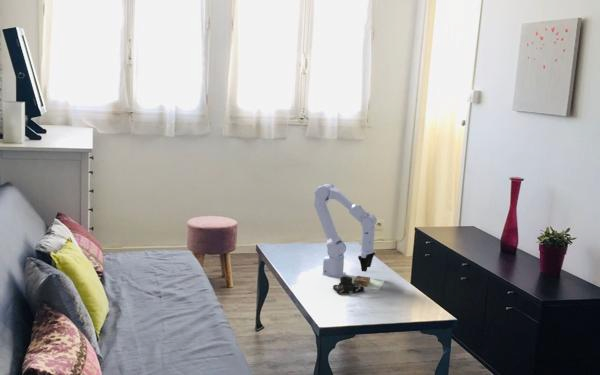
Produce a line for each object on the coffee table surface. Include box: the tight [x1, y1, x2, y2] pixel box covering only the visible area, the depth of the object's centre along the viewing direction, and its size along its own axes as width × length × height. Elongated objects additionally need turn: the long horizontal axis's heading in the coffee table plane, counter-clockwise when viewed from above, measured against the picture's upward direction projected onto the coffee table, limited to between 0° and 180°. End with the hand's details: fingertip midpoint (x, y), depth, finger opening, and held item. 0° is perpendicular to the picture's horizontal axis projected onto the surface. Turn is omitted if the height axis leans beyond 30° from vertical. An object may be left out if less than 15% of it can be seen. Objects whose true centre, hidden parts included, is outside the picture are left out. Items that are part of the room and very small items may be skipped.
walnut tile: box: [354, 275, 371, 287], centre depth 290 cm, size 6×2×7 cm
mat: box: [346, 275, 386, 291], centre depth 292 cm, size 18×14×1 cm
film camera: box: [332, 276, 365, 295], centre depth 280 cm, size 13×8×10 cm
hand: (366, 269), depth 296 cm, fingers open, 7 cm apart
